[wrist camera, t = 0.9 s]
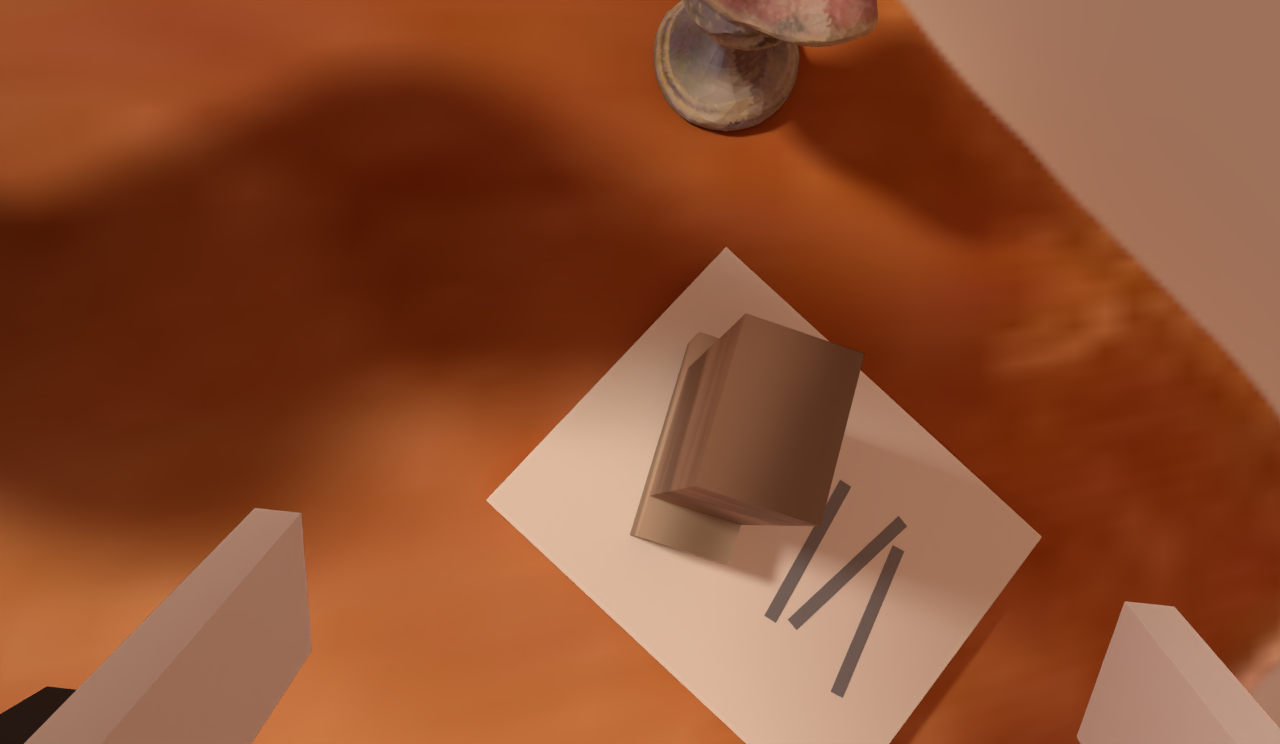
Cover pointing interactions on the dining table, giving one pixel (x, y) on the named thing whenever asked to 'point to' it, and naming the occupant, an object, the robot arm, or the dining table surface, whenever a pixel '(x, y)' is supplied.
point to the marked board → (774, 547)
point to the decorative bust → (745, 53)
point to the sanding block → (747, 437)
